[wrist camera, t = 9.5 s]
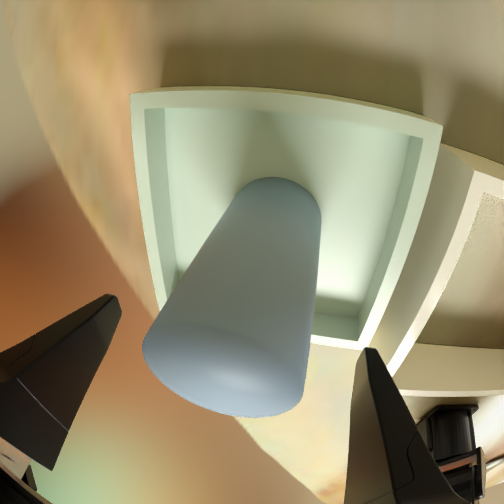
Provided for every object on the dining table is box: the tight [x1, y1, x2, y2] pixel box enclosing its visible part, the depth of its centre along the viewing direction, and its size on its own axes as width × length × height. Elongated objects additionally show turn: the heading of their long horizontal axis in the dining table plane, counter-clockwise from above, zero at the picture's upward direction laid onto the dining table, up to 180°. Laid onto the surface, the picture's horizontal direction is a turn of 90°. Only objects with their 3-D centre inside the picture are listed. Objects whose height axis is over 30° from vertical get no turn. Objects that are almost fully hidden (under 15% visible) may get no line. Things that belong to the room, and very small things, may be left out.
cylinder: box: [142, 177, 322, 418], centre depth 12 cm, size 5×5×10 cm
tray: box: [130, 86, 443, 350], centre depth 16 cm, size 14×14×3 cm
